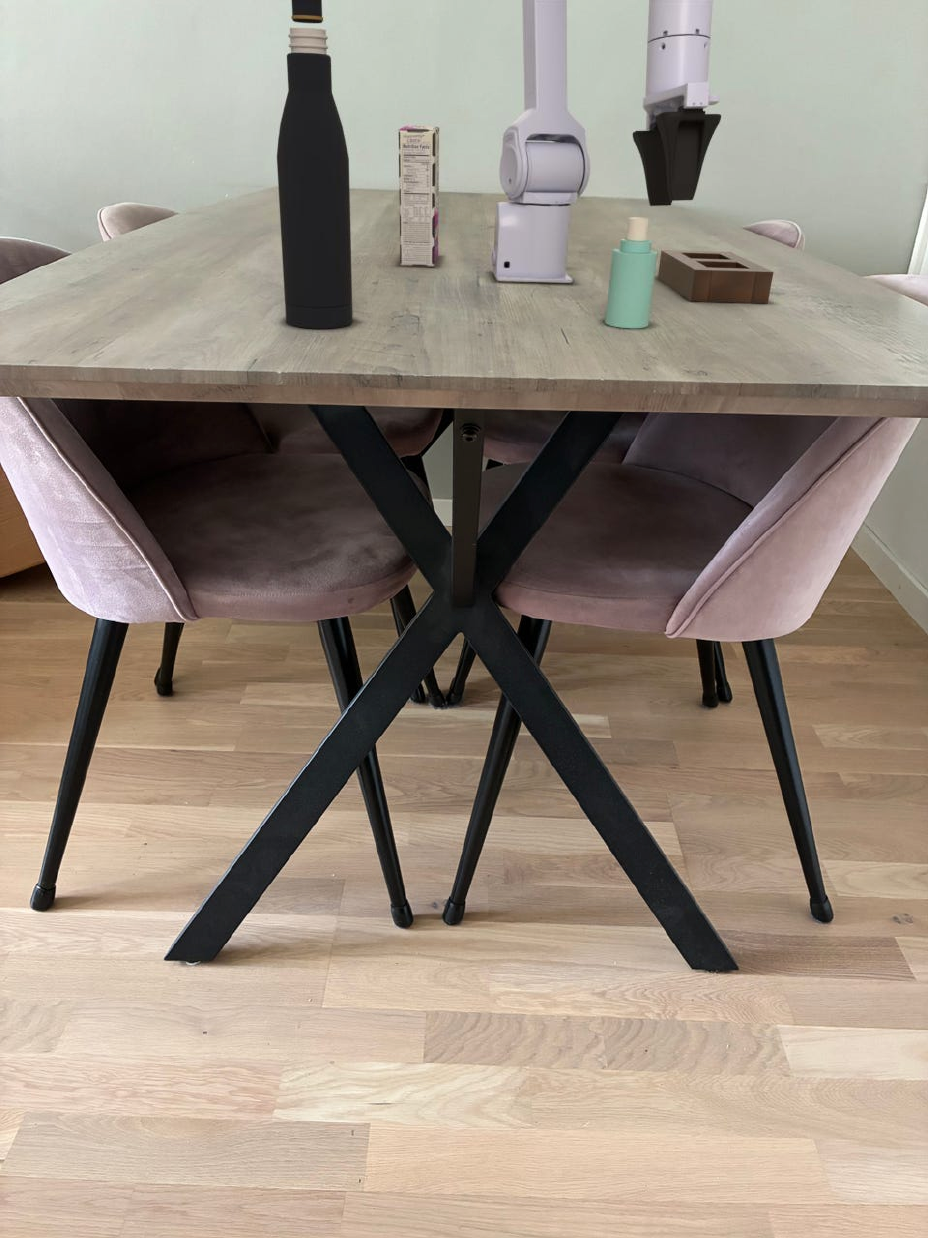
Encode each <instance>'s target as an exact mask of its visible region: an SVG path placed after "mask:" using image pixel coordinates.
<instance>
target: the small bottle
mask: <svg viewBox="0 0 928 1238" xmlns="http://www.w3.org/2000/svg"><path fill="white" fill-rule="evenodd" d="M649 225H650V219H649V218H648V217H641V216H631V217H628V219H627V228H626V238H621V239H620V244H619V245H620V246H619V247H618V248H617V247H616V248H613V249H612V254H611V261H610V262H611V263H610V270H609V271H610V273H609V280H608V281H609V282H608V291H607V299H606V300H607V301H606V309H605V320H604V323H605V324H606V325H608V326H611V327H615V328H621V329H644V328H647V327H649V323H650V316H651V315H650V314H651V308H652V307H651V306H652V300H653V292H654V286H655V285H654V284H655V276H656V268H657V262H658V251H656V250H653V249H652V244H653V241H652V240H650V239H648V232H649Z"/></svg>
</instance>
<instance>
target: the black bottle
mask: <svg viewBox="0 0 928 1238" xmlns="http://www.w3.org/2000/svg"><path fill="white" fill-rule="evenodd" d="M322 1H323V0H291V20H292V22H293V23H300V24H322V23H323V21H324V17H323V2H322ZM287 37H288V38H289V40H290V42H289V44H288V47H289V48H290V52H289V53H287V54H286V68H287V69H286V70H287V96H286V99H285V103H284V107H283V111H282V114H281V115H282V116H281V120H280V124H279V131H278V138H277V147H276V166H277V184H278V185H277V186H278V187H277V188H278V201H279V203H278V205H279V223H280V239H281V240H280V241H281V257H282V258H281V259H282V273H283V292H284V309H285V320H286V323H287V324H288V325H290V326H292V327H296V328H301V329H302V328H303V329H312V330H313V329H315V330H329V329H330V330H331V329H340V328H344V327H347V326H350V325H351V324H352V323H353V281H352V280H353V279H352V278H353V277H352V242H351V241H352V240H351V239H352V238H351V237H352V235H351V199H350V198H351V195H350V193H351V191H350V158H349V153H348V145H347V140H346V135H345V131H344V125H343V122H342V119H341V116H340V113H339V110H338V107H337V103H336V101H335V98H334V94H333V83H332V82H333V81H332V79H333V78H332V77H333V76H332V57H331V55H329V54H327V50H328V49H329V45H327V40H328V39H329V36H327V30H326V29H322V28H314V27H313V28H312V27H289V33H288V36H287Z"/></svg>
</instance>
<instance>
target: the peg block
mask: <svg viewBox="0 0 928 1238" xmlns="http://www.w3.org/2000/svg"><path fill="white" fill-rule="evenodd" d="M773 278H774V271H772V270H770V269H769V268H766V267H764V266H762V265H760V264H758V263H755V262H753V261H751V260H749V259H746V258H745V257H742V256H740V255H738V254H736V253H733V252H731V251H712V250H711V251H710V250H708V251H707V250H677V249H661V251H660V257H659V266H658V274H657V279H658V280H660V281H661V282H663V283H664V284H665V285H666V286H668V287H670V288H671V289H672V290H674V291H675V292H677V293H678V294H680V295H681V296H682V297H684V298H686V299H687V301H689V302H698V303H699V302H700V303H701V302H703V303H707V302H708V303H733V304H734V303H736V304H737V303H739V304H741V303H742V304H769V299H770V293H771V287H772V283H773Z"/></svg>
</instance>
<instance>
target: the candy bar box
mask: <svg viewBox="0 0 928 1238" xmlns="http://www.w3.org/2000/svg"><path fill="white" fill-rule="evenodd" d="M398 183H399V185H398V188H399V189H398V190H399V191H398V193H399V265H400V266H402V267H408V268H409V267H410V268H435V266H436V263H437V259H438V257H439V205H440V204H439V200H440V198H439V197H440V195H439V194H440V193H439V192H440V191H439V190H440V126H434V125H405V126H403V127H401V128H399V129H398Z"/></svg>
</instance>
